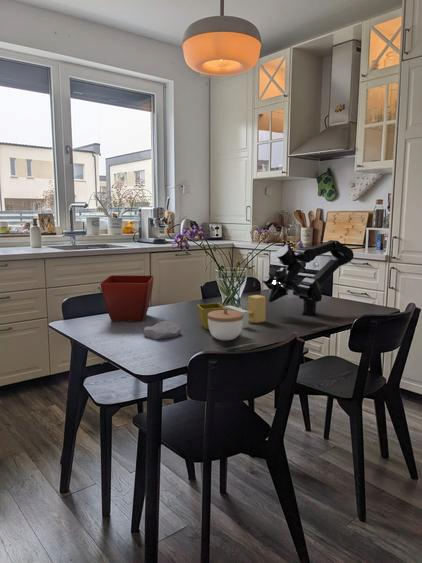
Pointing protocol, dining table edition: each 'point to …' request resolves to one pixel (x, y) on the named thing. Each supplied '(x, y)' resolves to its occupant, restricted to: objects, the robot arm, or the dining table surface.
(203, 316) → the flower pot
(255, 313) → the block
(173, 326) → the stone block
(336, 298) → the dining table surface
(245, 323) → the wall
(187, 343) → the dining table surface
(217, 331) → the lidded bowl
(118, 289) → the plant pot
